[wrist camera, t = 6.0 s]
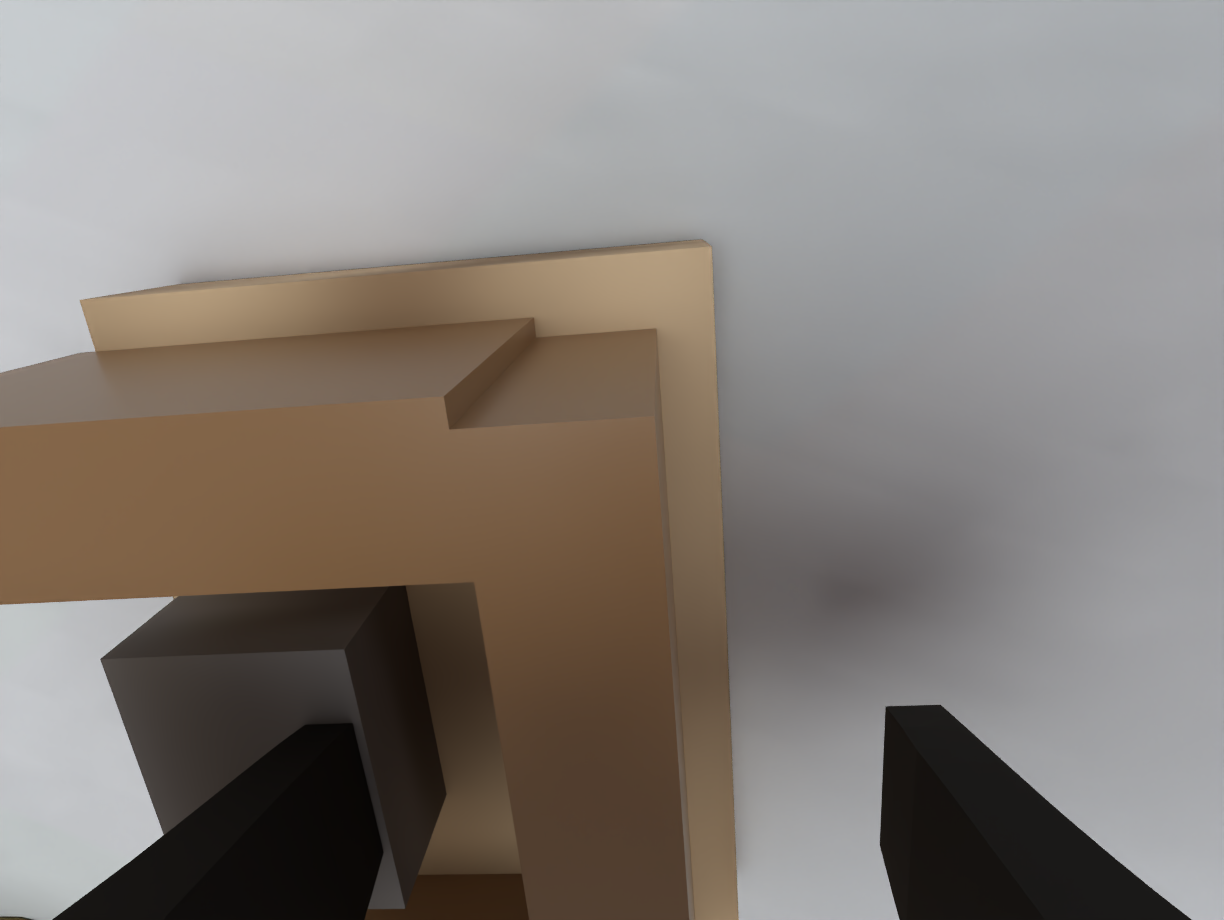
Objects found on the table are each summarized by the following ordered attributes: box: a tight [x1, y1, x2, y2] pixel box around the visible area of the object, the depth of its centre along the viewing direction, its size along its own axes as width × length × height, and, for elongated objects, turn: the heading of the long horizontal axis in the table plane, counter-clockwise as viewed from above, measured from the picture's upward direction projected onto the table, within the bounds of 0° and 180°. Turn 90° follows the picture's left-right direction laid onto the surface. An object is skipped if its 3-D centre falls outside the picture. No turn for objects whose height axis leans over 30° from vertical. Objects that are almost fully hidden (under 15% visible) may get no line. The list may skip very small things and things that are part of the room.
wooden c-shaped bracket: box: [0, 317, 695, 920], centre depth 9 cm, size 8×10×4 cm
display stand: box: [80, 239, 738, 920], centre depth 11 cm, size 8×12×4 cm, turn 5°
